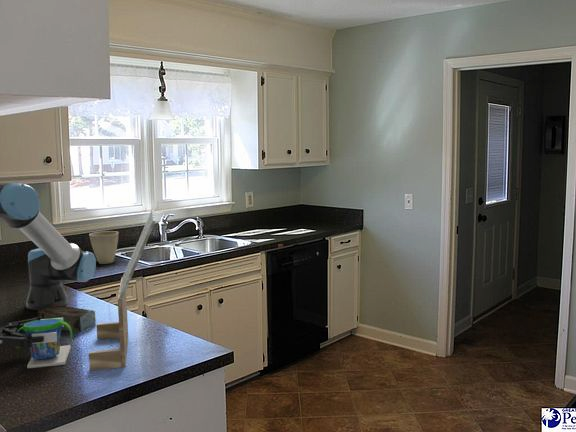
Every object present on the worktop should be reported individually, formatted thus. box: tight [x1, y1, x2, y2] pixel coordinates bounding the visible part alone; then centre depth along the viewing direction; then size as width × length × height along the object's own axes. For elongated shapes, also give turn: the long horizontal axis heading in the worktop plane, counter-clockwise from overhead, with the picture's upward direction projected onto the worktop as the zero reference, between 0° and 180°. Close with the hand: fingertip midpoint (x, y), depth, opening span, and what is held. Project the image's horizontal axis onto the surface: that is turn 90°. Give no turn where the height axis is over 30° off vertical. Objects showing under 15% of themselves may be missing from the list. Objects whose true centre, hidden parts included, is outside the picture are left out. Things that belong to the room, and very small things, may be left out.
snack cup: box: [16, 319, 73, 359], centre depth 165 cm, size 16×10×10 cm
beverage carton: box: [37, 305, 97, 333], centre depth 195 cm, size 8×19×7 cm, turn 69°
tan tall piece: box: [88, 209, 156, 371], centre depth 170 cm, size 27×20×42 cm
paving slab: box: [26, 344, 72, 369], centre depth 168 cm, size 14×10×1 cm
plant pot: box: [89, 230, 119, 265], centre depth 299 cm, size 15×15×16 cm
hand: (60, 329), depth 167 cm, fingers open, 13 cm apart
